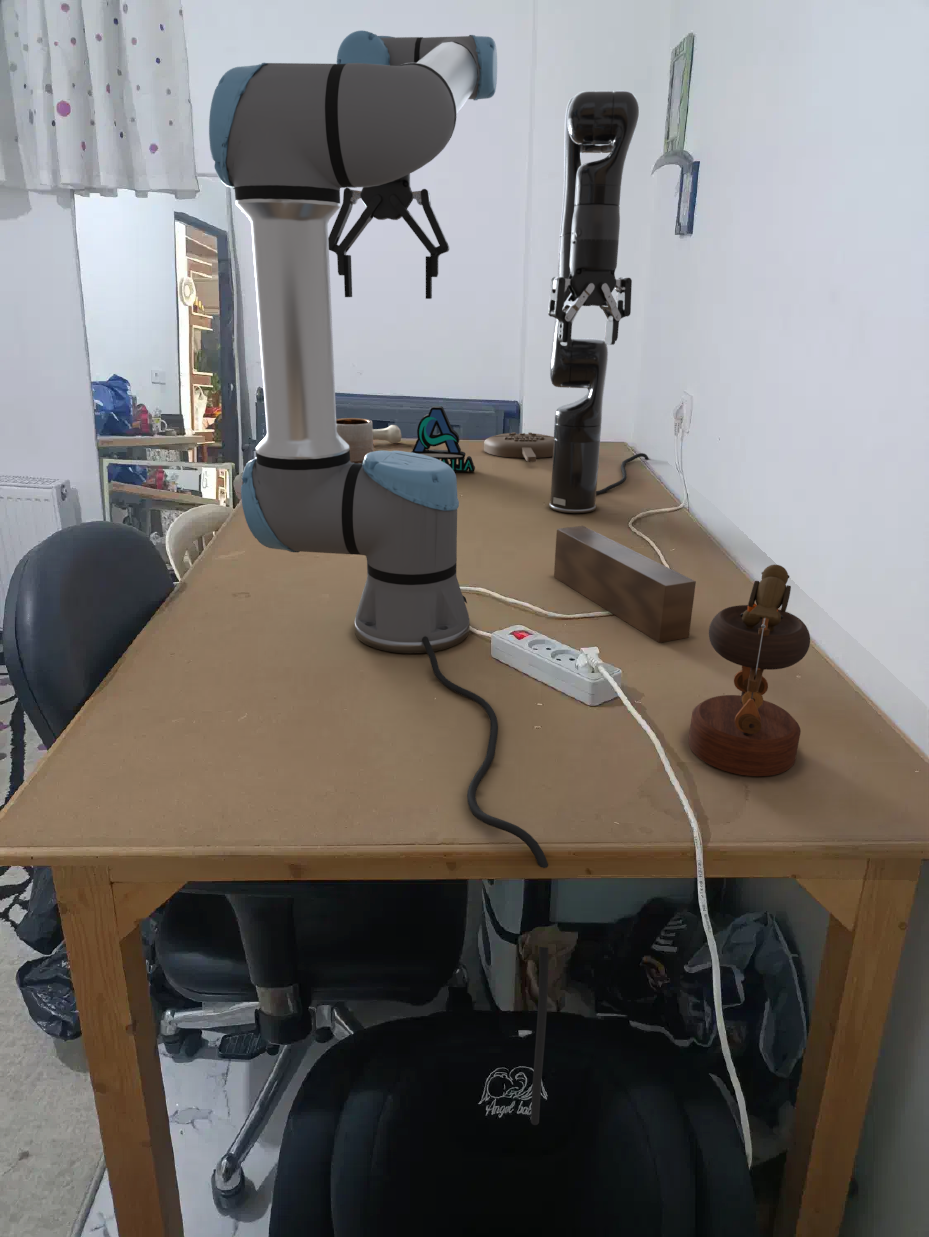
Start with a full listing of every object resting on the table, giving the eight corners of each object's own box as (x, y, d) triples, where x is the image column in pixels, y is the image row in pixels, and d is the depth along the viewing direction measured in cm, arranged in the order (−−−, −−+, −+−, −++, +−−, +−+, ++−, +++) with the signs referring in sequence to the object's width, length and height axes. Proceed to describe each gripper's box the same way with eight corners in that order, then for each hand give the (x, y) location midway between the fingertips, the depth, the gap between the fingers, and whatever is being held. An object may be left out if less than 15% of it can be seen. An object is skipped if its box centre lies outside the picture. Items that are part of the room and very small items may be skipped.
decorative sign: (475, 470, 205) (476, 407, 199) (474, 472, 203) (475, 408, 197) (397, 467, 206) (396, 405, 200) (396, 470, 204) (395, 406, 198)
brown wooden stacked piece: (818, 789, 79) (839, 589, 72) (698, 789, 81) (706, 593, 73) (780, 711, 93) (794, 537, 86) (678, 712, 95) (683, 541, 87)
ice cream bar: (489, 467, 208) (489, 450, 207) (482, 445, 234) (482, 430, 233) (574, 467, 209) (575, 450, 208) (557, 446, 235) (558, 430, 234)
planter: (327, 456, 217) (325, 418, 214) (369, 454, 220) (368, 417, 217) (334, 465, 208) (332, 425, 204) (377, 463, 211) (376, 424, 207)
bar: (689, 637, 113) (696, 581, 110) (659, 643, 111) (665, 585, 108) (579, 573, 136) (583, 525, 133) (553, 577, 134) (556, 528, 131)
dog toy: (400, 440, 239) (399, 422, 237) (402, 444, 234) (401, 426, 232) (328, 441, 236) (327, 423, 234) (328, 445, 231) (327, 427, 229)
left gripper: (466, 159, 137) (463, 298, 145) (314, 157, 138) (320, 296, 146) (463, 152, 130) (460, 299, 138) (303, 151, 132) (310, 296, 139)
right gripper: (619, 239, 139) (611, 342, 146) (543, 237, 134) (538, 344, 140) (646, 238, 133) (636, 346, 139) (568, 236, 128) (561, 348, 134)
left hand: (388, 298), depth 142 cm, fingers open, 13 cm apart
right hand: (587, 345), depth 140 cm, fingers open, 8 cm apart
